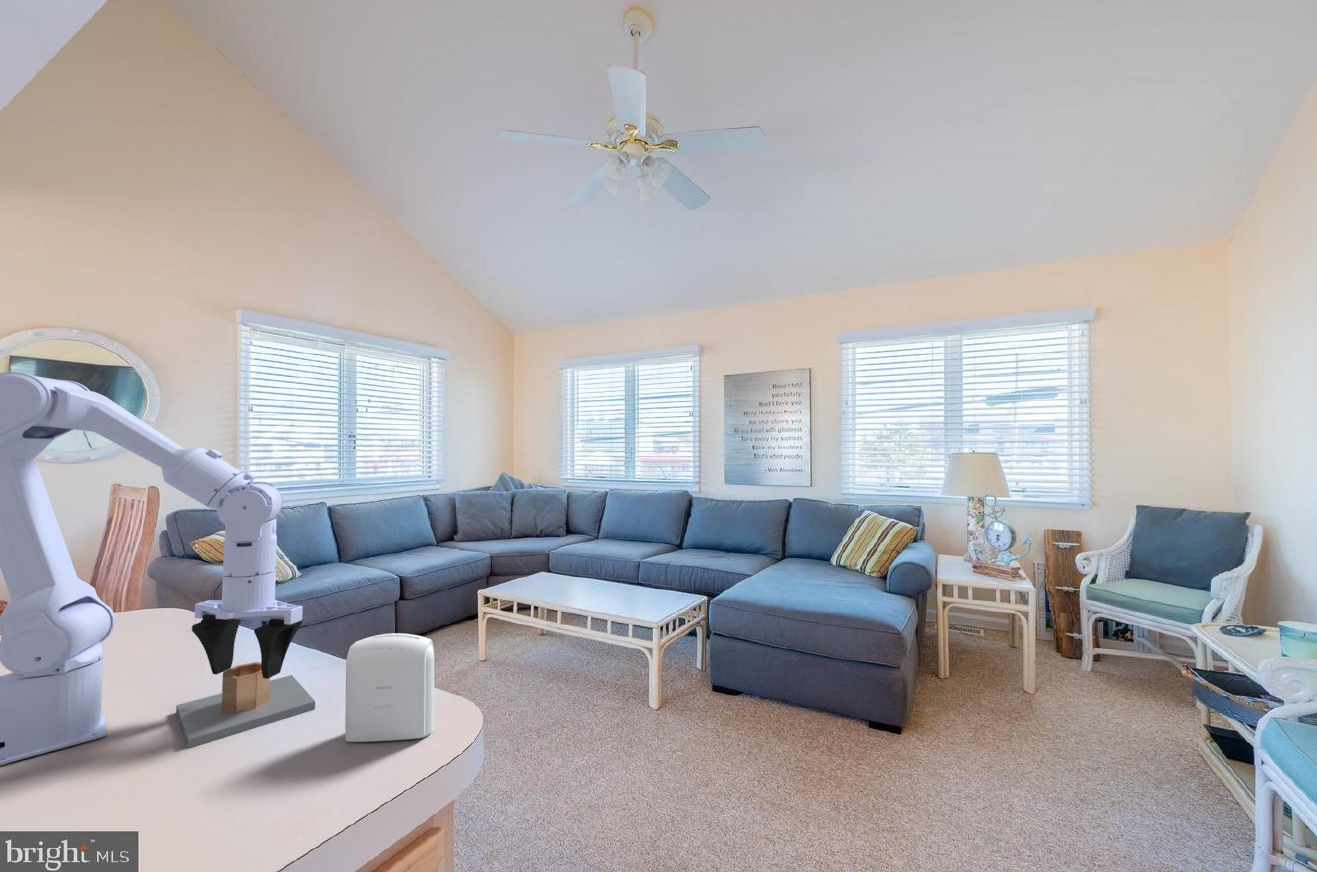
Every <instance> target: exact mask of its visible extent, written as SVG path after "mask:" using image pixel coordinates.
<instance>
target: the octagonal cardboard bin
mask: <svg viewBox="0 0 1317 872" xmlns="http://www.w3.org/2000/svg"><path fill="white" fill-rule="evenodd" d="M270 678H271V677H270ZM270 678H268V679H265V678H263V676H262V667H261V661H253V662H249V663H248V662H247V663H243V664H238V665H236V666H234V667H231V668H230V669H228V670H226V671H224V672H222V685H221V687H222V688H221V689H222V690H221V693H222V712H226V713H239V712H244V711H248V710H252V709H256V708H258V707H260V706H261V705H263V704H265V703H267V702H269V686H270V680H271V679H270Z"/></svg>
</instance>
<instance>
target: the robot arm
mask: <svg viewBox="0 0 1317 872" xmlns="http://www.w3.org/2000/svg"><path fill="white" fill-rule="evenodd" d="M73 430H76V431H86V432H92V433H95V434H97V435H99V436H100V437H102V438H105V439H107V440H108V441H110V442H113V443H114V444H116V445H118V446H120V447H121V448H124V449H125V450H128V451H130V452H131V453H134V454H135V455H137V456H138V457H141V458H143V459H144V460H147V461H148V462H150V463H152V464H154V465H155V466H158V467H159V468H161V471H162V478H163V480H164V483H166V484H167V485H169V486H171V487H173V488H174V489H176V490H178V491H180V492H181V493H183V494H184V495H187V496H188V497H189V498H192V499H194V500H195V501H197V502H198V503H201V504H202V505H204V506H205V507H207V508H209V509H211V510H216V514H217V517H218V518H219V520H220V521H221V523H222V524H223V525H224V526H225V527H224V528H225V529H224V541H223V560H222V561H223V565H222V567H223V568H222V584H221V585H222V588H221V589H222V590H221V591H222V592H221V599H218V600H217V599H212V600H211V599H209V600H205V601H202V602H198V603H195V604H194V605H195V606H194V618H195V619H201V620H200V622H197V623H194V624H192V626H191V632H193V634H194V635H195V637H197V638H198V640H199V641H200V644H201V645H202V647H203V650H204V651H205V654H206V657H207V659H208V664H209V667H210V670H211V673H212V675H219V674H221V673H223V672H224V671H226V670H229V669H231V668H232V665H233V661H234V652H235V642H236V636H237V633H238V629H239V626H240V624H241V622H242V620H247V621H259V622H260V621H261V622H268V623H267V624H264V625H261V626H259V627H256V628H254V629H253V633H254V635H255V637H256V638H257V642H258V645H259V649H260V656H261V658H260V659H261V661H260V662H261V667H262V676H263V678H265V679H268V678H272V677H275V676H276V675H278V674H280V673H281V671H282V667H283V664H284V660H285V657H286V655H287V652H288V650H289V647H290V644H291V642H292V641H293V638H294V637H295V635H296V633H297V632H298V630H299V629H300V628H301V626H302V624H303V605H296V604H292V603H288V602H285V601H280V600H277V599H276V580H277V579H276V575H277V549H278V548H277V547H278V546H277V545H278V536H277V522H278V521H277V518H275V517H277V516H278V514H279V513H280V512H281V510H282V508H283V503H284V501H283V497H282V494H281V492H280V491H279V490H278V489H277V488H276V487H275V486H274V485H273V484H272V483H270V482H268V481H254V480H255V479H256V478H257V477H256V475H255V474H253V473H251V472H247V473H244V472H243V471H241V470H240V469H238V468H236V467H235V466H233V465H232V464H230V463H228V462H227V461H225V460H224V459H221V458H222V457H223V456H224V454H223V453H222V452H220V451H219V450H217V449H208V450H207V449H206V448H203V447H200V446H199V447H192V448H191V447H190V448H184V447H183V446H181V445H179V444H178V443H176V442H175V441H173V440H172V439H170V438H169V437H168V436H166V435H165V434H163V433H161V432H160V431H158V430H157V429H155V428H154V427H152V426H150V425H149V424H147V423H146V422H144V421H143V420H142V419H140V418H139V417H137V416H135V414H132V413H131V412H129V411H128V410H126V409H125V408H124V407H121V406H120V405H119V404H118V403H116V402H114V401H113V400H111V399H110V398H108V397H107V396H105V395H103V394H100V393H98V392H96V391H93V390H92V391H91V390H90V389H89V388H87V386H85V385H84V384H81V383H79V382H76V381H73V380H68V379H55V378H49V377H43V376H36V375H33V374H30V373H26V372H21V371H3V372H0V571H1V575H2V577H3V578H4V579H3V580H4V581H5V585H6V587H7V589H8V592H9V595H10V598H9V601H8V603H7V604H6V606H5V607H4V609H3V611H2V613H1V614H0V631H1V632H0V633H1V636H0V663H1V665H2V666H3V668H6V669H7V670H8V671H10V673H8V674H3V675H0V766H1V765H2V766H3V765H6V764H10V763H13V762H17V761H20V760H23V759H28V758H31V757H34V756H38V755H42V754H46V753H49V752H53V751H58V750H60V749H64V748H68V747H71V746H75V745H79V744H82V743H86V742H89V741H94V740H96V739H100V738H101V739H102V738H103V737H105V736H106V735H107V725H106V723H107V722H106V716H105V715H106V713H105V711H103V710H102V701H103V700H102V699H103V696H102V695H103V669H104V667H103V665H104V650H103V642H104V640H106V639H107V638H108V637H109V636H110V635H111V633H112V632H113V630H114V628H115V626H116V616H115V613H114V611H113V610H112V608H111V607H110V606H109V605H107V604H106V603H105V602H104V601H102V600H101V599H100V597H99V596H98V593H97V591H96V588H95V587H94V586H92V585H90V584H89V583H88V582H86V581H84V580H82V579H80V578H79V577H78V575H77V573H76V569H75V567H74V564H73V562H72V559H71V556H70V553H69V550H68V547H67V545H66V542H65V538H64V537H63V534H62V531H61V528H60V526H59V522H58V520H57V517H56V515H55V511H54V509H53V506H52V503H51V499H50V496H49V495H48V491H47V490H46V487H45V484H44V480H43V478H42V475H41V473H40V470H39V467H38V464H37V461H36V459H37V456H39V455H40V454H42V452H43V451H44V450H45V449H46V448H47V447H48V446H49V445H50V444H51V443H52V442H54V440H56V439H58V438H60V437H62V436H64V435H65V434H67V433H70V432H71V431H73Z"/></svg>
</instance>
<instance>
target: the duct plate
mask: <svg viewBox="0 0 1317 872" xmlns="http://www.w3.org/2000/svg"><path fill="white" fill-rule="evenodd" d="M315 709H316V701H315V699H314V698H313V697H312V696H311V695H310V694H309V693H308V691H307V690H306V689H305V688H304V687H303V685H301V683H300V682H299V681H298V680H297V679H296V678H295V677H294V676H293V675H292V674H291V675H286V676H282V677H278V678H275V679H270V686H269V702H267V703H265V704H263V705H261V706H260V707H258V708H256V709H252V710H248V711H244V712H239V713H226V712H222V692H221V693H217V694H214V695H210V696H207V697H202V698H199V699H195V700H191V701H186V702H182V703H179V704H175V714H176V717H177V719H178V721H179V725H180V728H181V731H182V734H183V736H184V740H185V742H186V745H187V748H188V749H190V748H193V747H196V746H199V745H202V744H207V743H210V742H213V741H215V740H219V739H222V738H225V737H229V736H232V735H235V734H238V733H242V732H245V731H248V730H251V729H255V728H258V727H260V726H263V725H267V724H271V723H274V722H276V721H277V722H278V721H280V720H283V719H286V718H290V717H292V716H296V715H299V714H302V713H306V712H308V711H309V712H310V711H312V710H315Z"/></svg>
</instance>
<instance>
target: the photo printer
mask: <svg viewBox="0 0 1317 872" xmlns="http://www.w3.org/2000/svg"><path fill="white" fill-rule="evenodd" d="M344 712H345V716H344V717H345V720H344V721H345V722H344V724H345V727H344V728H345V729H344V730H345V733H344V735H345V741H346V742H347V743H364V742H365V743H366V742H385V741H402V740H414V739H421V738H422V739H423V738H425V737H427V736H429V735H431V734H432V732H433V730H434V728H435V651H434V642H433V640H432V639H431V638H428V637H426V636H425V637H424V636H421V635H416V634H410V633H399V632H398V633H394V632H393V633H392V632H391V633H383V634H377V635H372V636H370V637H366V638H362V639H359V640H357V641H355V642H354V643H353V644H352V645H350V647H349V650H348V652H347V657H346V661H345V711H344Z"/></svg>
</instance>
